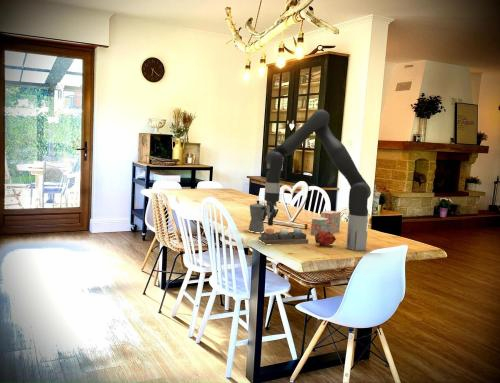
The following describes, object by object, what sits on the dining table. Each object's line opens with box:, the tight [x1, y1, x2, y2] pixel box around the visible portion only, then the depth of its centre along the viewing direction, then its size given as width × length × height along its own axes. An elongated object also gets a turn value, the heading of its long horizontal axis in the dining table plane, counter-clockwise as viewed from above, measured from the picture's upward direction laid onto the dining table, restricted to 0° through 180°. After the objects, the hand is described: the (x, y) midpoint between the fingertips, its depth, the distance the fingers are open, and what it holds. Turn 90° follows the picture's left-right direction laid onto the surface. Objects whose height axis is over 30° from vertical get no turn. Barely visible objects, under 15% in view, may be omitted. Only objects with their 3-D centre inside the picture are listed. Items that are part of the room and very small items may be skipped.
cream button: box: [279, 228, 289, 235], centre depth 239 cm, size 4×4×3 cm
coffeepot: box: [248, 199, 267, 232], centre depth 260 cm, size 15×9×18 cm, turn 33°
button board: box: [258, 231, 309, 245], centre depth 239 cm, size 10×24×4 cm, turn 111°
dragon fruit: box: [314, 231, 337, 247], centre depth 236 cm, size 8×8×12 cm
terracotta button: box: [264, 228, 275, 235], centre depth 236 cm, size 4×4×3 cm
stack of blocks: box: [310, 210, 341, 236], centre depth 270 cm, size 21×6×12 cm, turn 139°
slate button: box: [292, 227, 303, 234], centre depth 242 cm, size 4×4×3 cm
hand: (270, 225), depth 235 cm, fingers closed
